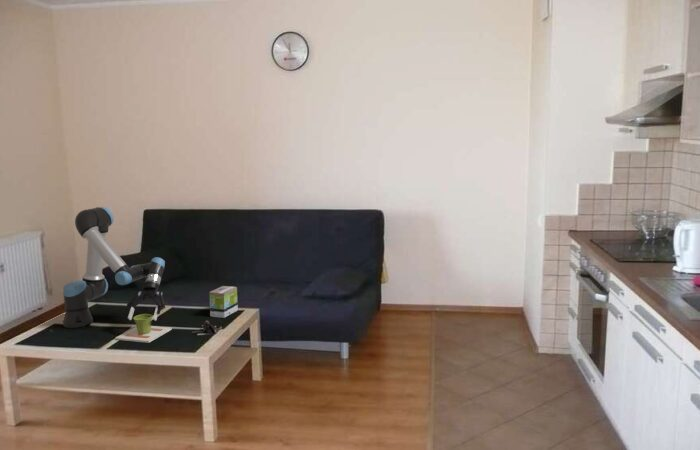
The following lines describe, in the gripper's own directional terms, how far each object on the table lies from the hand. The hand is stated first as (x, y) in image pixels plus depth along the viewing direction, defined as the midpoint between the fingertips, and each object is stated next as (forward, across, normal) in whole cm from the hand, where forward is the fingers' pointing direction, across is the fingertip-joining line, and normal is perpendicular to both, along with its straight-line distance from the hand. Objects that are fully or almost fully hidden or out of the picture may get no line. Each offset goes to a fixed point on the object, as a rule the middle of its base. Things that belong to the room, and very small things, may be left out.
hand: (142, 319), depth 297 cm
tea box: (-19, +33, +32) cm, 49 cm away
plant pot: (+5, 0, +6) cm, 8 cm away
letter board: (+6, 0, +6) cm, 8 cm away
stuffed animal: (+2, +32, +10) cm, 34 cm away
